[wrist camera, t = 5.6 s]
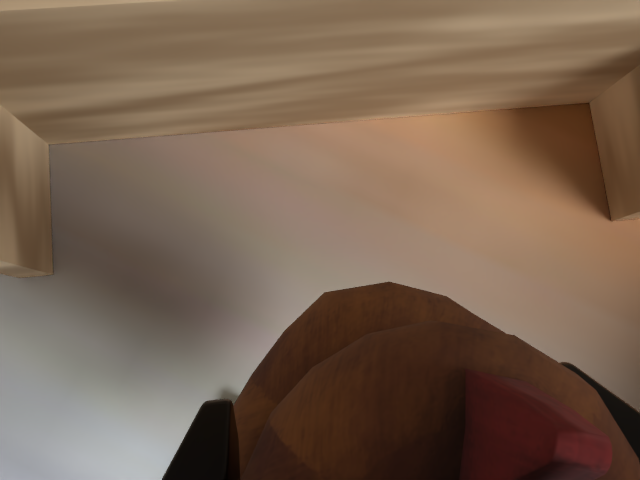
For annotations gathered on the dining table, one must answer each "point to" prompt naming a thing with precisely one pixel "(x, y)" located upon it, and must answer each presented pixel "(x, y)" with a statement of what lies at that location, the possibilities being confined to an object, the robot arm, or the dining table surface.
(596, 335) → the dining table surface
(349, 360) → the wooden figurine
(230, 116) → the shelf bay
